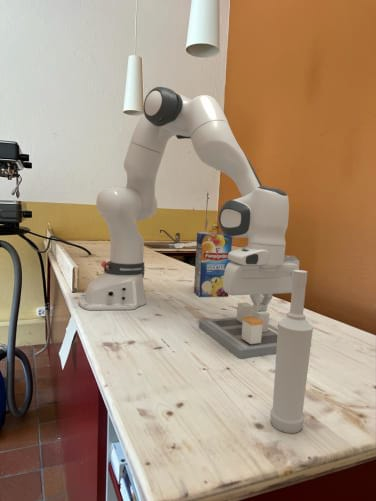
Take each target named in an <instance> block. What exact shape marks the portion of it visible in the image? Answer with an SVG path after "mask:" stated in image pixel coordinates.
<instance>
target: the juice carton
mask: <svg viewBox="0 0 376 501" xmlns="http://www.w3.org/2000/svg"><path fill="white" fill-rule="evenodd" d="M232 248H233V237H231V236H227V235H225V234H224V233H223V232H220V233H218V232H196V250H195V266H194V267H195V269H194V284H193V293H194V294H195V295H196V296H197V297H198V298H228V297H229V294H227V293H226V292H225V291H224V289H223V279H224V273H225V268H226V266H227V264H228V263H229V262H231V261H230V260H229V259H228V254H229V252H231V251H232Z"/></svg>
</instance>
